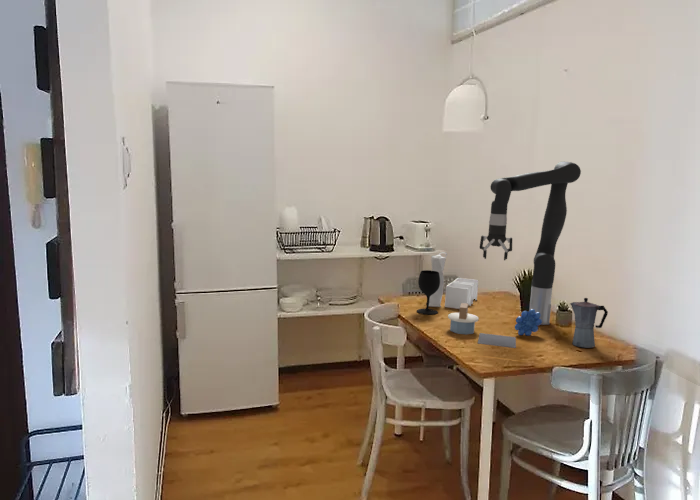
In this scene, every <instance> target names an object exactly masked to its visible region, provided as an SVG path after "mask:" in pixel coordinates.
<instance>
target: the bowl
mask: <svg viewBox="0 0 700 500" xmlns="http://www.w3.org/2000/svg"><path fill="white" fill-rule="evenodd" d="M475 324H476V322H473V323H463V322H457V321H453V320H450V327H449V330H450V332H452V333H455V334H459V335H473V334H474V332H475Z"/></svg>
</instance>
